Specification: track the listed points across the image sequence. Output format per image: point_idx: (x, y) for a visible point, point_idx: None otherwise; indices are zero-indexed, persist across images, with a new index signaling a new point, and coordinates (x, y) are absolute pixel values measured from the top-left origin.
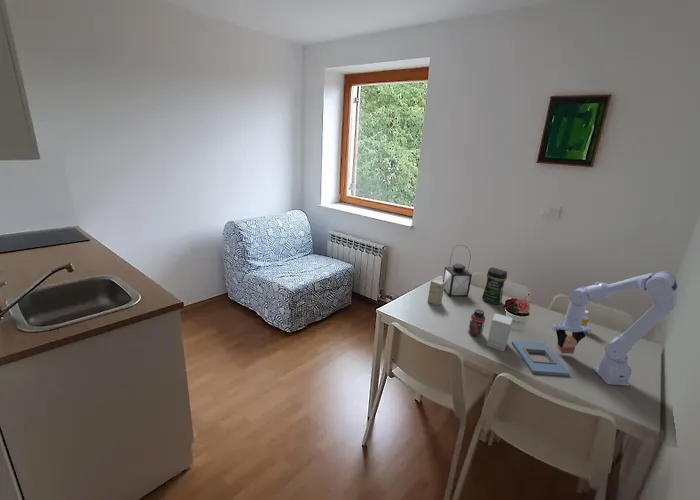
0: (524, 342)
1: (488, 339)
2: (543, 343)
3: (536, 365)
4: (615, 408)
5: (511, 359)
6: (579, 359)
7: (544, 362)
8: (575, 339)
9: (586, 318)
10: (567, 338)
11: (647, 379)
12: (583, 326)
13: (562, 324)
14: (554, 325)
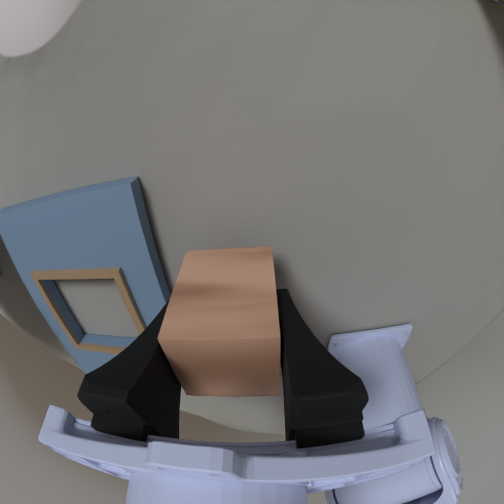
0: (29, 212)
1: None
2: (120, 189)
3: (91, 358)
4: (272, 427)
5: (28, 314)
6: (316, 282)
7: (113, 352)
8: (279, 383)
9: None
10: (210, 381)
11: (468, 332)
12: (388, 463)
13: (123, 460)
14: (58, 452)
